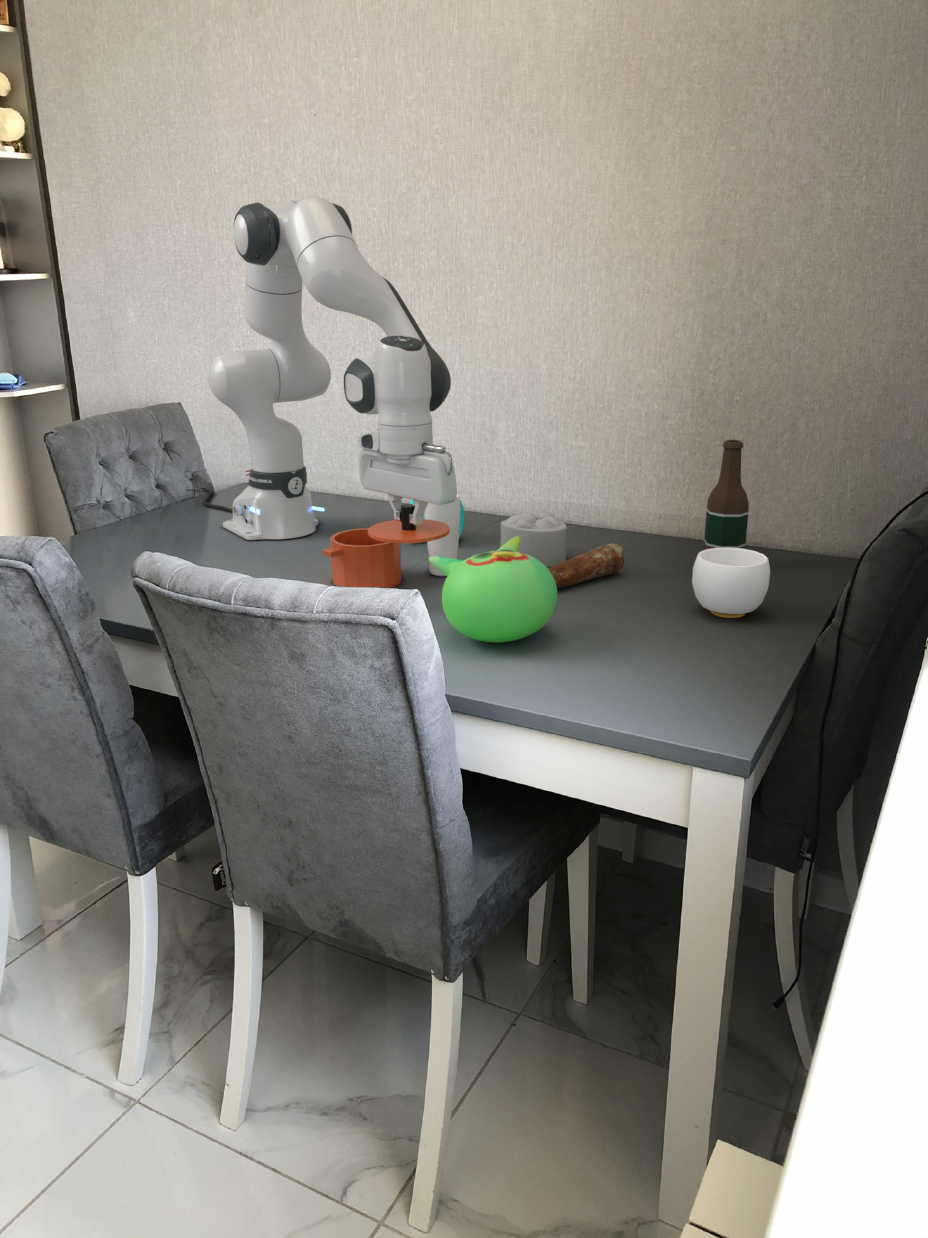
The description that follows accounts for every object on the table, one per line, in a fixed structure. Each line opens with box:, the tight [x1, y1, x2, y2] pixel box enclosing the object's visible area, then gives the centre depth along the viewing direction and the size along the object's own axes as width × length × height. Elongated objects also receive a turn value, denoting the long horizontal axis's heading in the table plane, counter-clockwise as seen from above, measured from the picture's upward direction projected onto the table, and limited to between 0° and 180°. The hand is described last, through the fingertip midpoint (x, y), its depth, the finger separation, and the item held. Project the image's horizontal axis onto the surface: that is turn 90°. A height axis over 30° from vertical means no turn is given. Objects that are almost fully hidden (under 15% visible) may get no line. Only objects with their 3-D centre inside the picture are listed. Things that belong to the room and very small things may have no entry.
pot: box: [322, 527, 402, 589], centre depth 178 cm, size 13×18×8 cm
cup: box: [691, 548, 771, 619], centre depth 160 cm, size 12×12×10 cm
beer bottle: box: [702, 439, 750, 551], centre depth 182 cm, size 8×8×24 cm
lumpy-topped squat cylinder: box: [500, 511, 568, 568], centre depth 190 cm, size 10×13×9 cm
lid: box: [368, 503, 450, 544], centre depth 163 cm, size 14×14×5 cm
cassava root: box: [548, 542, 625, 590], centre depth 177 cm, size 6×19×6 cm, turn 128°
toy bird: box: [428, 536, 558, 643], centre depth 149 cm, size 18×17×15 cm
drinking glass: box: [424, 493, 461, 577], centre depth 181 cm, size 7×7×15 cm
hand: (408, 522), depth 163 cm, fingers closed on lid, 2 cm apart
